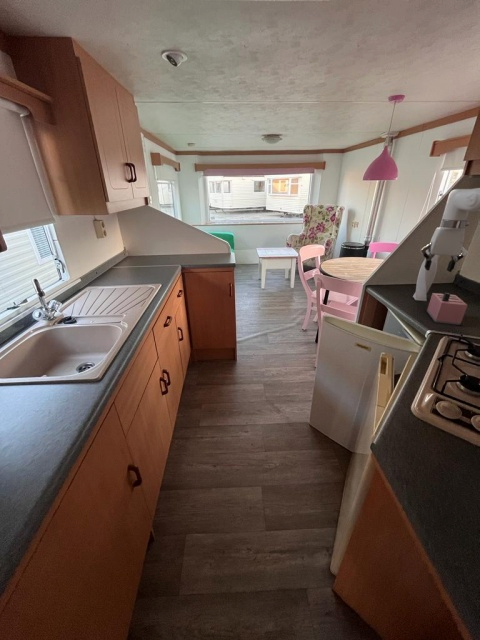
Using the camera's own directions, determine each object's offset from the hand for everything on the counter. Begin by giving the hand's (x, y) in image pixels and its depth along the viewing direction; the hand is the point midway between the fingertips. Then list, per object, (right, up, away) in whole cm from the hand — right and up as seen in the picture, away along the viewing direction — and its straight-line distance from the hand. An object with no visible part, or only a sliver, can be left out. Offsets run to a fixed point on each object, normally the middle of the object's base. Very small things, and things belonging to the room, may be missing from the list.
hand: (437, 270), depth 109 cm
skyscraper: (+14, -10, +31) cm, 36 cm away
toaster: (+9, -19, +10) cm, 24 cm away
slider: (+6, -12, +3) cm, 14 cm away
